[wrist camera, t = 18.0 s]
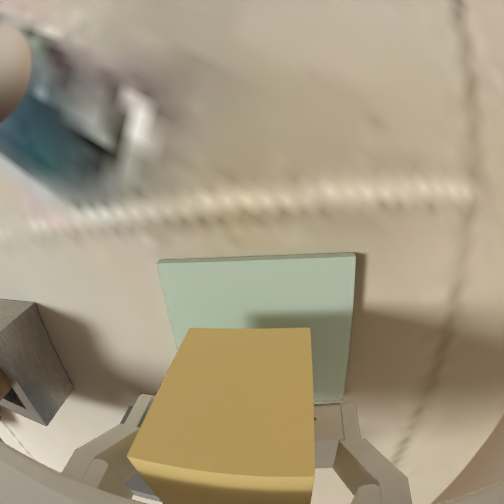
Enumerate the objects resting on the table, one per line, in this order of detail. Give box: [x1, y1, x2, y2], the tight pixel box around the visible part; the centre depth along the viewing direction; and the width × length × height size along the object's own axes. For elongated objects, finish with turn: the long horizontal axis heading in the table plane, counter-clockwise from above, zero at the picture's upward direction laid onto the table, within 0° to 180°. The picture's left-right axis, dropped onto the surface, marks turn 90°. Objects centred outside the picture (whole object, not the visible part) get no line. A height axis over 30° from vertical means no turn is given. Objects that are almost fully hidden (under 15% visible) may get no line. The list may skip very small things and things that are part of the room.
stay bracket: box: [0, 299, 74, 426], centre depth 15 cm, size 7×7×4 cm
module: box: [127, 328, 315, 504], centre depth 9 cm, size 4×4×6 cm
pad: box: [156, 253, 356, 402], centre depth 14 cm, size 8×8×1 cm
